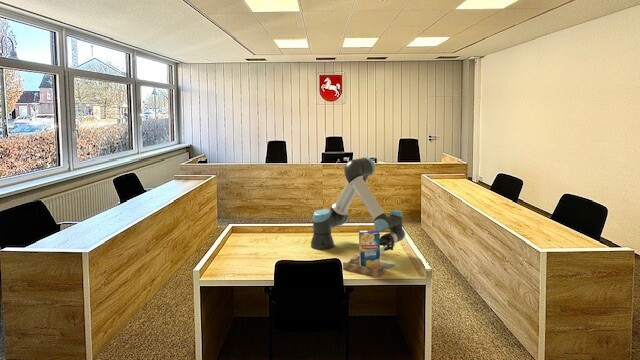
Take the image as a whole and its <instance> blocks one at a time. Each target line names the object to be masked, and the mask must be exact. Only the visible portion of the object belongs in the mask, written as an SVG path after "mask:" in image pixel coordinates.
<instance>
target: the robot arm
mask: <svg viewBox="0 0 640 360" xmlns="http://www.w3.org/2000/svg"><path fill="white" fill-rule="evenodd" d="M375 170H376V166H375V162H374V161H373V160H372V159H371V158H369V157H360V158H356V159H351V160H349V161H348V162H346V163H345V166H344V175H345V176H344V177H345V179H346V181H347V182H346V183H345V186H344V187H343V189H342V191H341V193H340V195H339V197H338V198H337V201H336V202H335V203H332V205H331V206H330V208H329V209H327V208H323V209H318V210H315V211H314V212H313V214H312V229H313V230H312V233H313V234H312V238H311V242H310V248H312V249H315V250H328V249H332V248H334V247H335V242H334V239H333V236H332V228H337V227H340V226H342V225H344V224H346V223H347V221H348V219H349V207H350V205H351V203H352V202H353V200H354V198H355V197H356V194H357V195H358V197H359V198H360V200H361V202H362V203H363V205H364V206H365V208H366V210H367V211H368V212H369V214H370V217H372V219H373V221H374V222H373V223H374V224H373V225H374V229H375V230H378V231H379V233H381V232H385V231H388V230H390V231H389V232H387V233H385V234H383V235H380V254H383V253H384V252H386V251H394V247H395V245H396V243H399V242H401V241H402V240H403V239H404V238H405V237H406V232H405V229H403V221H404V220H403V218H404V217H403V211H402V210H400V209H392V210H390V212H389V215H387V214H386V213H385V211H384V210H383V208H382V207H381V205H380V204H379V202H378V200H377V199H376V197H375V196H374V194H373V193H372V191H371V190H370V188H369V186H368V185H367V183H366V181H367V180H368V178H369V176H371V175H374V173H375ZM381 246H382V247H381Z"/></svg>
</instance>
